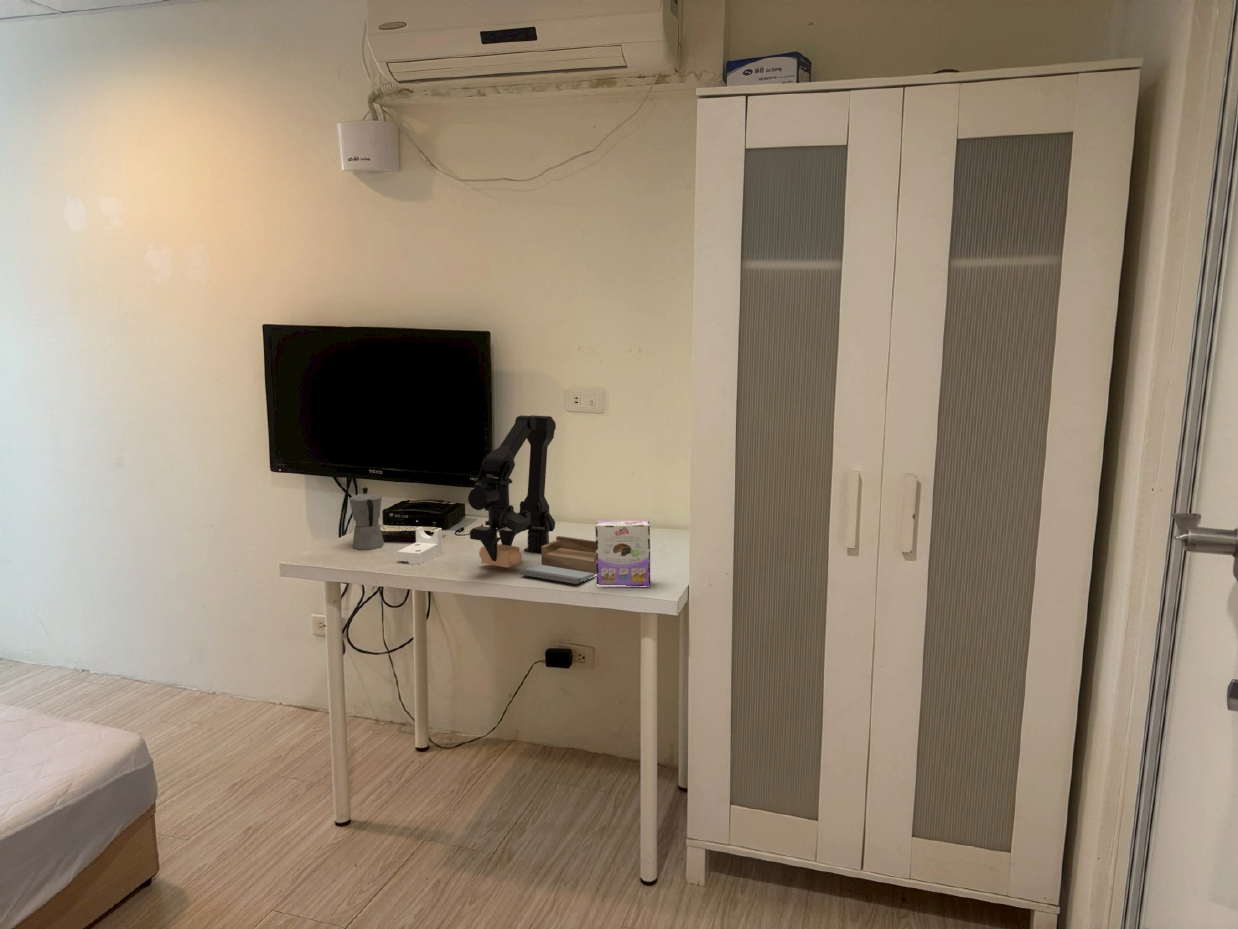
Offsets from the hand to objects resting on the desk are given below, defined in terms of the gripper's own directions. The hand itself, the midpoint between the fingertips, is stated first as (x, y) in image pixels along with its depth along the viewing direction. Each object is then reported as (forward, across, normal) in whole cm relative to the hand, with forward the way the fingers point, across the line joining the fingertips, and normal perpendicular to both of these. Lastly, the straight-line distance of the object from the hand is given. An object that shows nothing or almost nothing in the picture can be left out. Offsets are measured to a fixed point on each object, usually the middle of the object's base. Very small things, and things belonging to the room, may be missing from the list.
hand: (500, 558), depth 239 cm
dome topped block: (+1, 0, 0) cm, 1 cm away
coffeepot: (+3, 0, +49) cm, 49 cm away
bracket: (+4, -2, +27) cm, 28 cm away
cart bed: (+3, +11, -18) cm, 21 cm away
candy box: (+3, +4, -36) cm, 36 cm away
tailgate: (+3, +5, -18) cm, 19 cm away
